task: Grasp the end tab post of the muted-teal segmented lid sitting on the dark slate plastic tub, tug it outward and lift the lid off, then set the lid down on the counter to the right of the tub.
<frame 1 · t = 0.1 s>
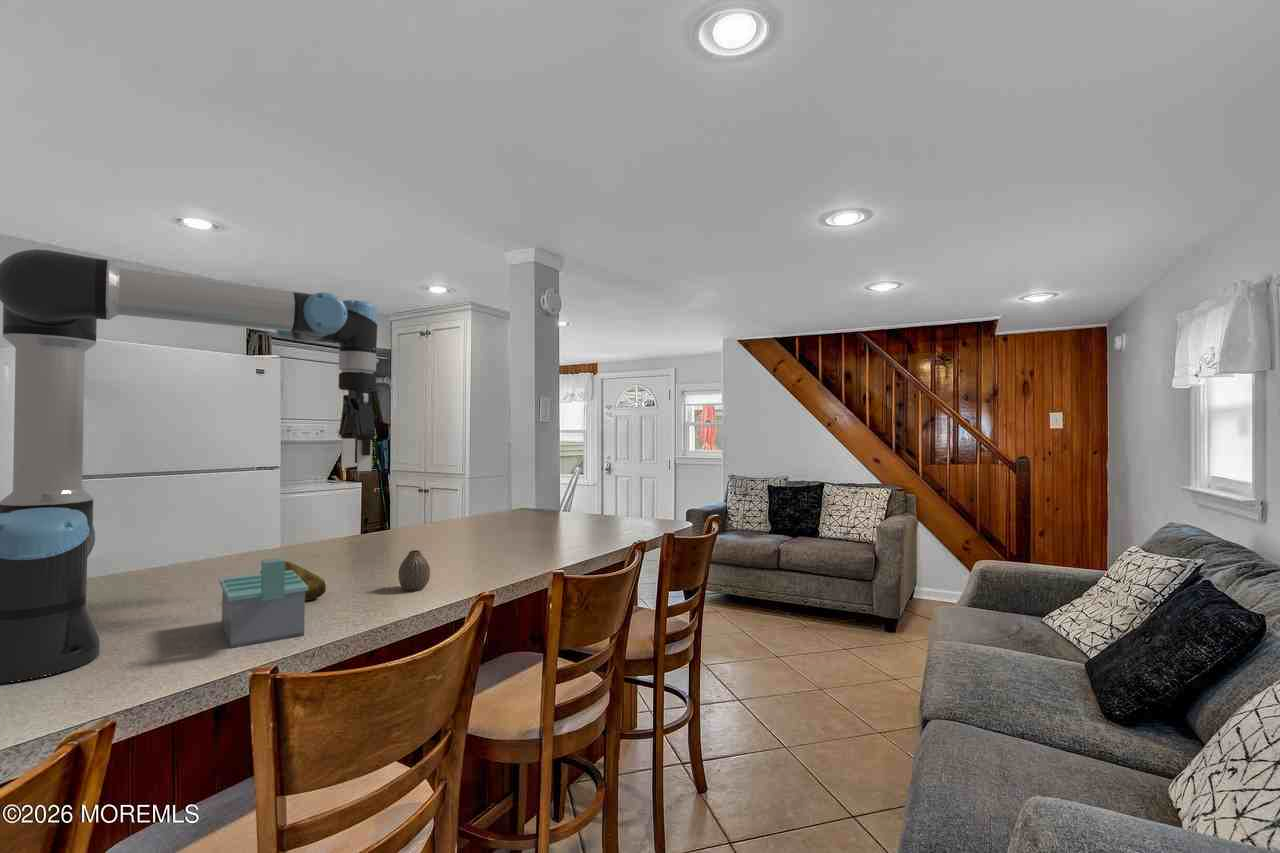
hand: (355, 469, 136), 28 cm above the countertop, fingers open, 13 cm apart
lid: (262, 586, 113), point 8 cm above the countertop, touching tub
vase: (414, 589, 143), on the countertop
potato: (291, 600, 133), on the countertop
tub: (262, 630, 113), on the countertop
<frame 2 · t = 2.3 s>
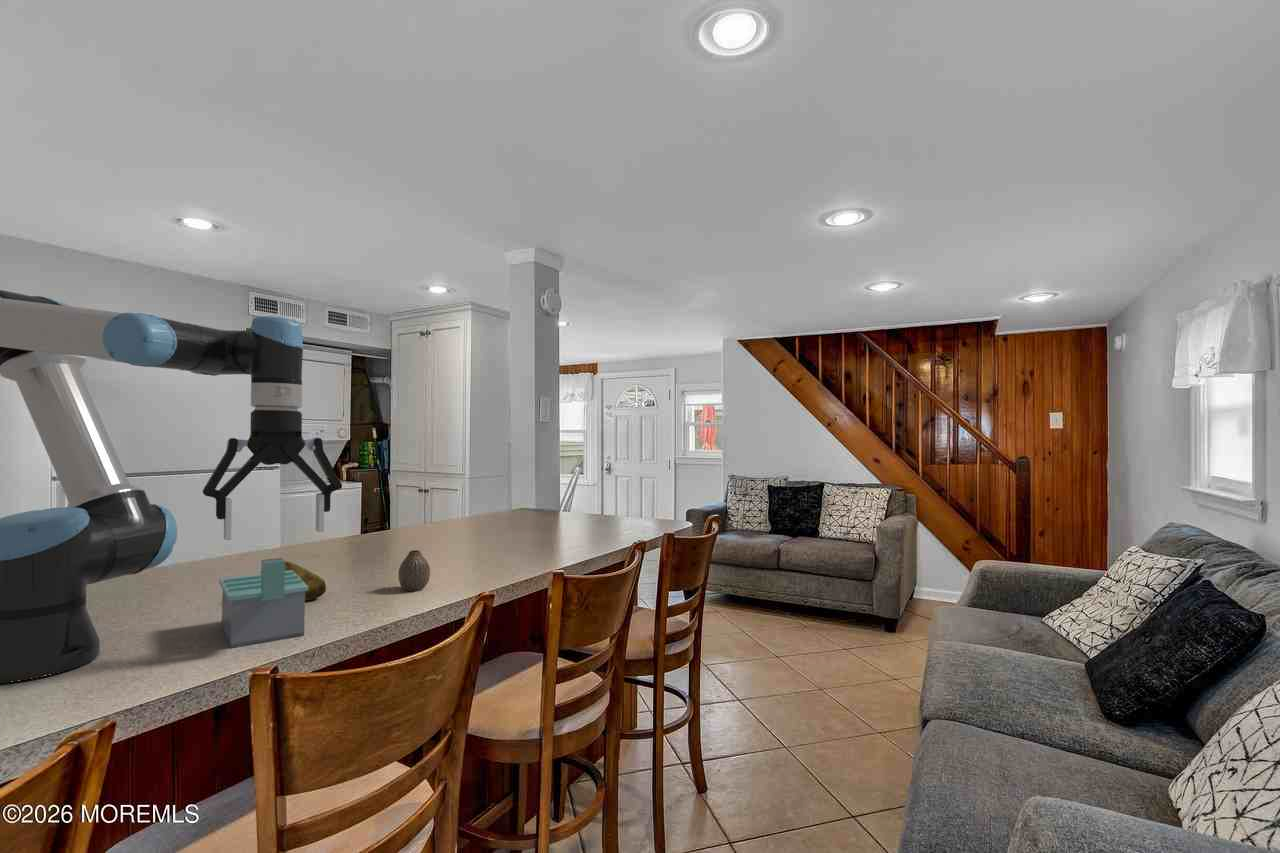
hand: (275, 535, 105), 19 cm above the countertop, fingers open, 13 cm apart
nothing on the countertop moved.
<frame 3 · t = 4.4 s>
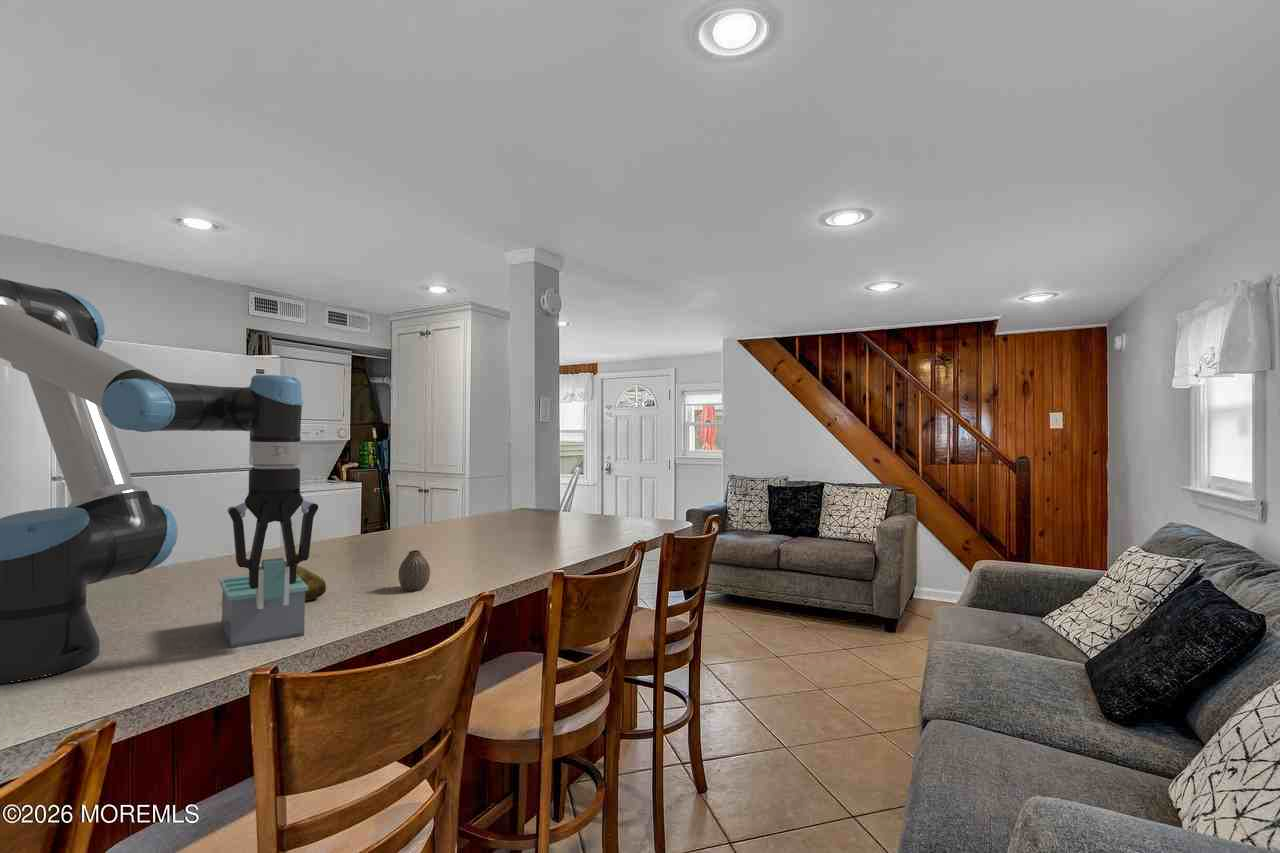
hand: (272, 604, 105), 7 cm above the countertop, fingers closed on lid, 3 cm apart
lid: (262, 586, 113), point 8 cm above the countertop, touching gripper, tub
everything else where it was.
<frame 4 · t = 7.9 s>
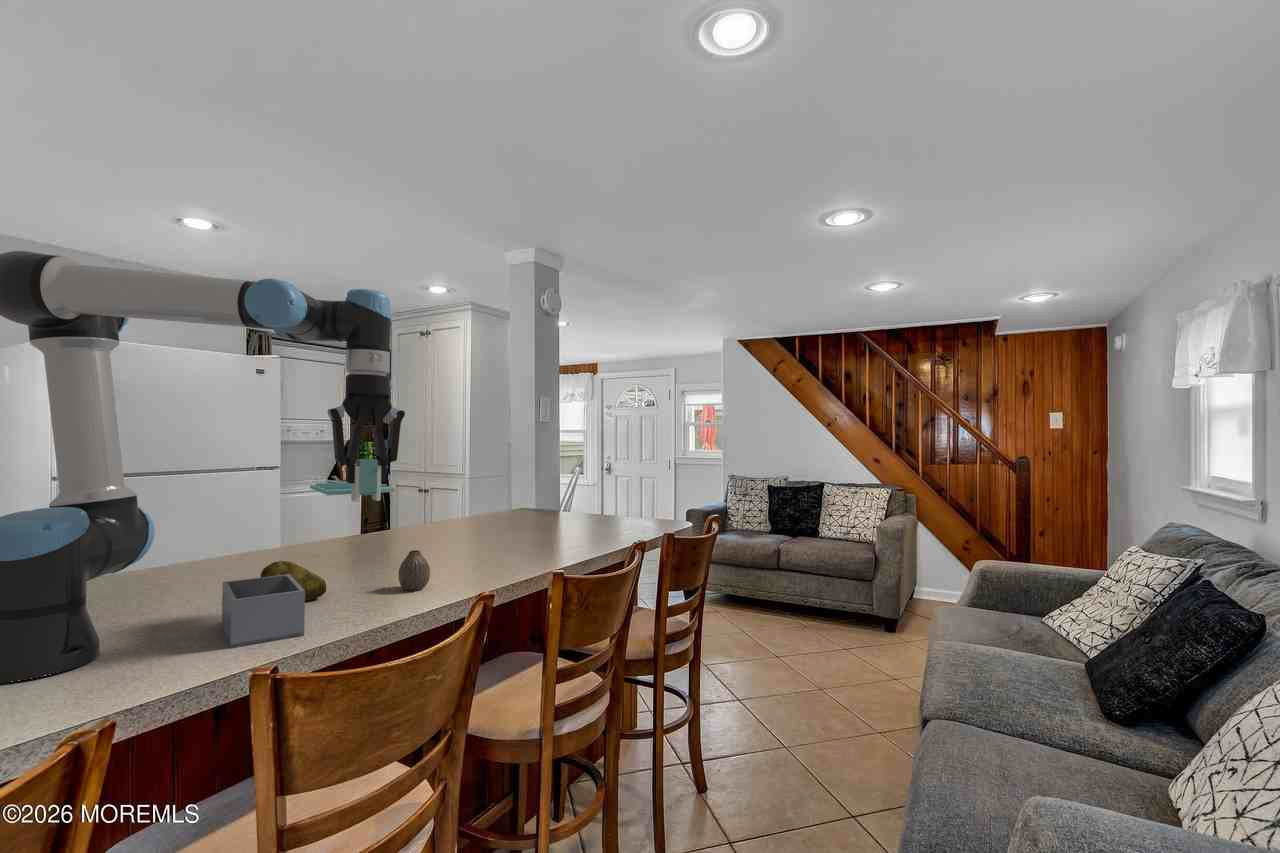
hand: (366, 500, 116), 24 cm above the countertop, fingers closed on lid, 3 cm apart
lid: (351, 489, 124), point 25 cm above the countertop, touching gripper
everything else where it was.
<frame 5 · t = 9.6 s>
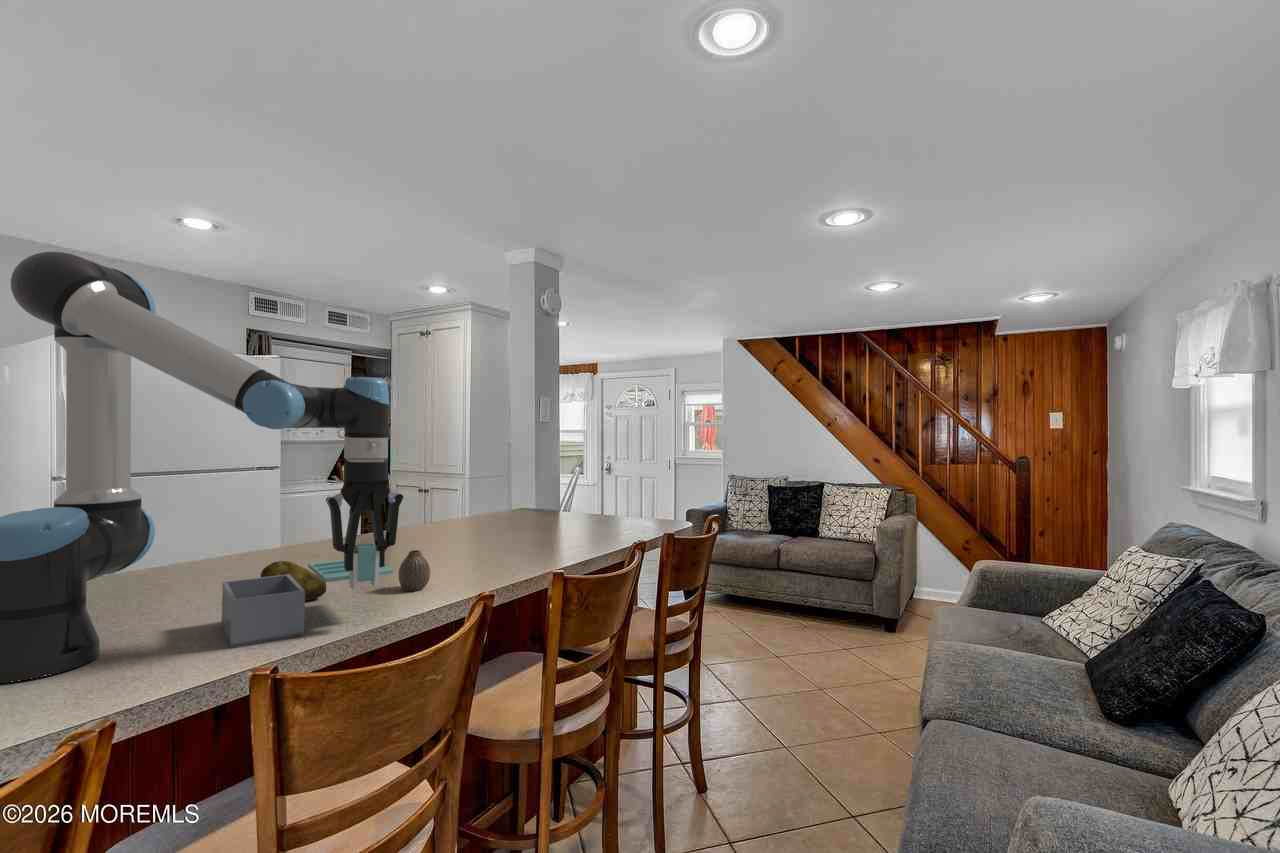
hand: (364, 586, 116), 8 cm above the countertop, fingers closed on lid, 3 cm apart
lid: (349, 570, 124), point 9 cm above the countertop, touching gripper
everything else where it was.
when the fingers open (1 cm above the countertop, at t = 11.2 s): lid drops 2 cm, on the countertop.
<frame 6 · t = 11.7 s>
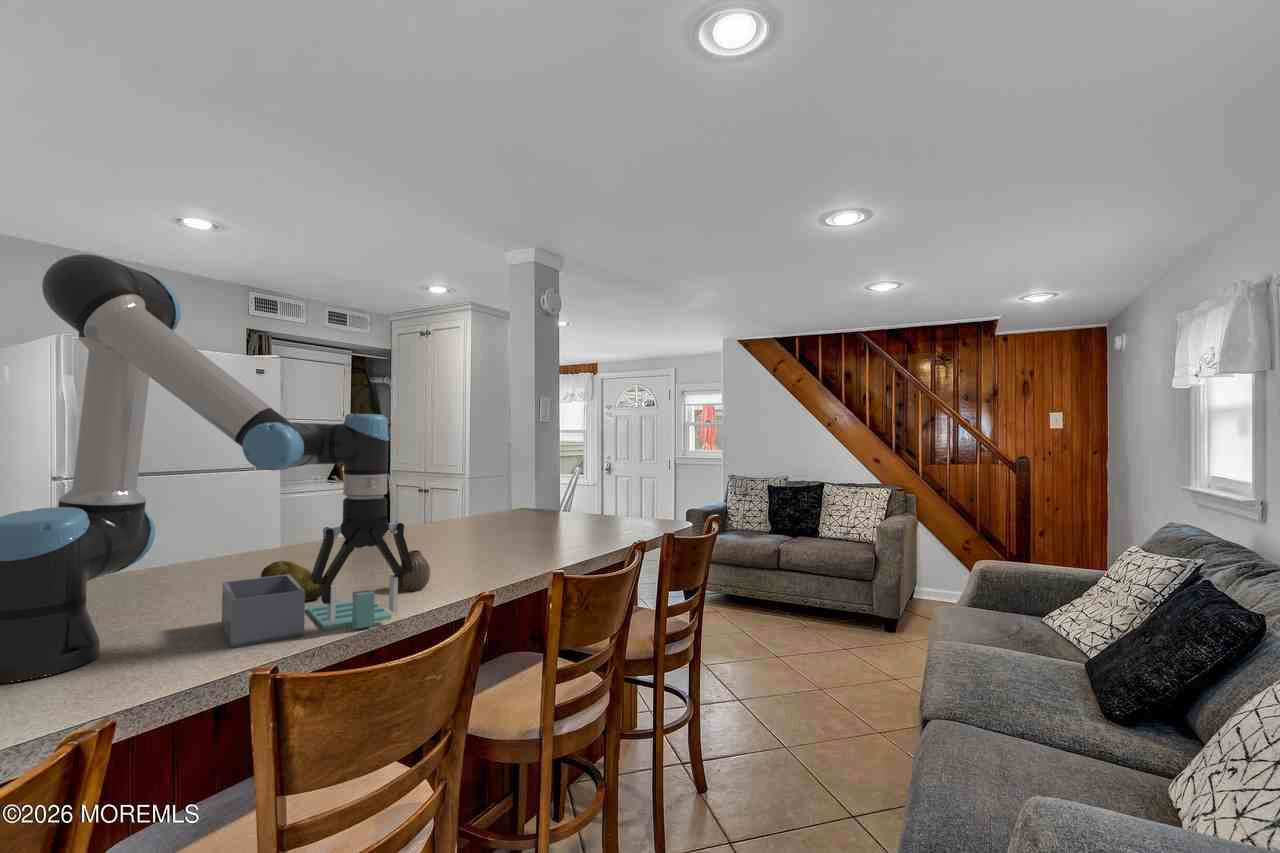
hand: (362, 615, 116), 2 cm above the countertop, fingers open, 10 cm apart
lid: (348, 614, 124), on the countertop
everything else where it was.
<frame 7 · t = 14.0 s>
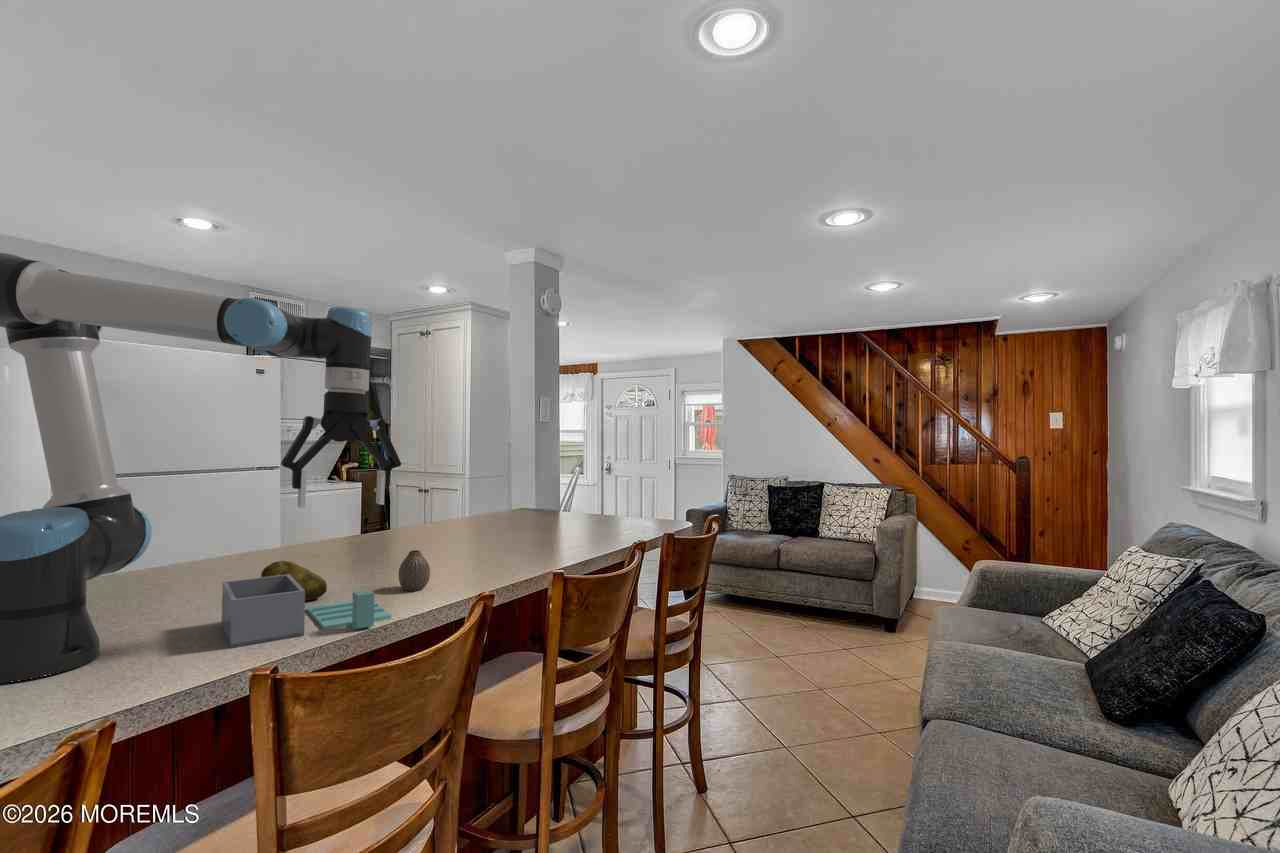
hand: (342, 505, 116), 23 cm above the countertop, fingers open, 13 cm apart
nothing on the countertop moved.
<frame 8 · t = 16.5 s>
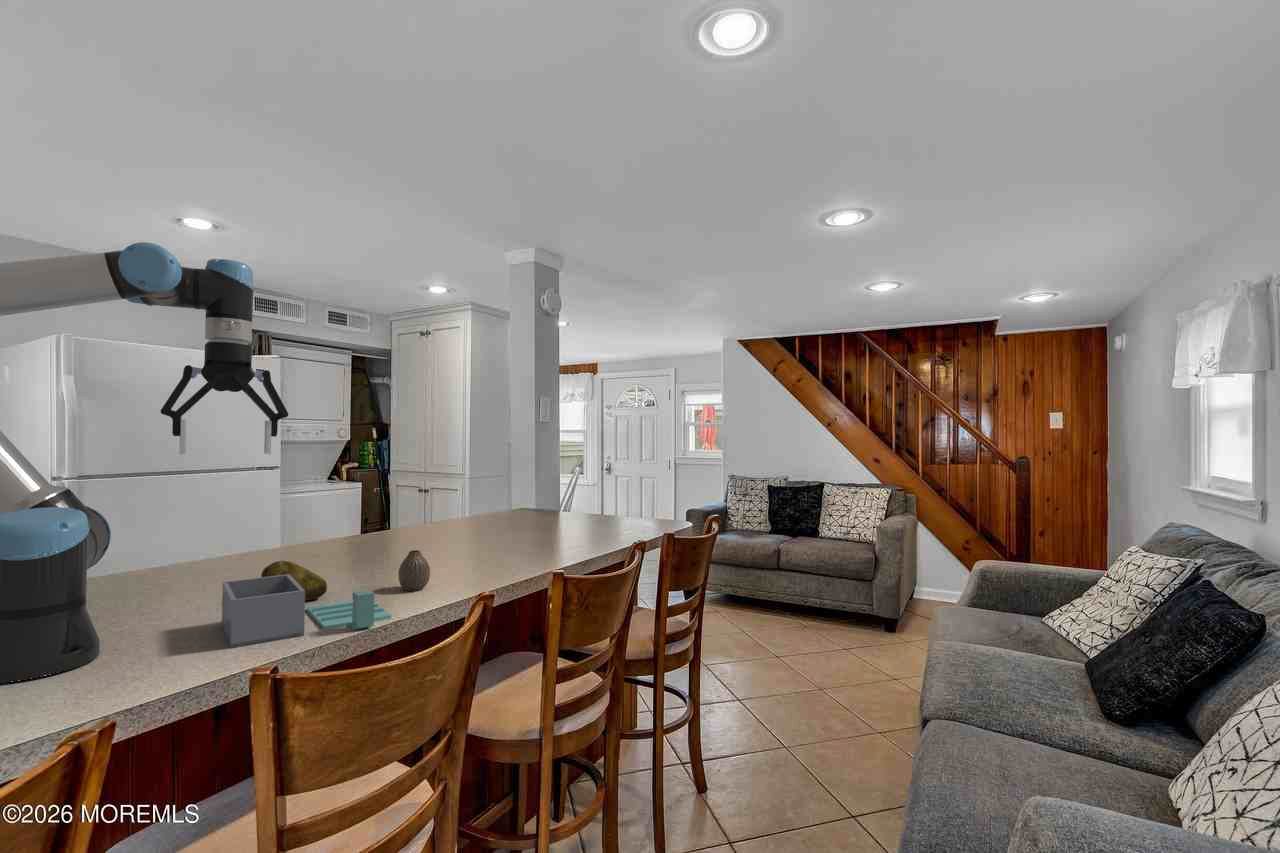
hand: (226, 454, 119), 32 cm above the countertop, fingers open, 13 cm apart
nothing on the countertop moved.
at the end: lid inside the target area (0.1 cm from its centre), on the countertop; lid touching countertop; lid tilted 0° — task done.
